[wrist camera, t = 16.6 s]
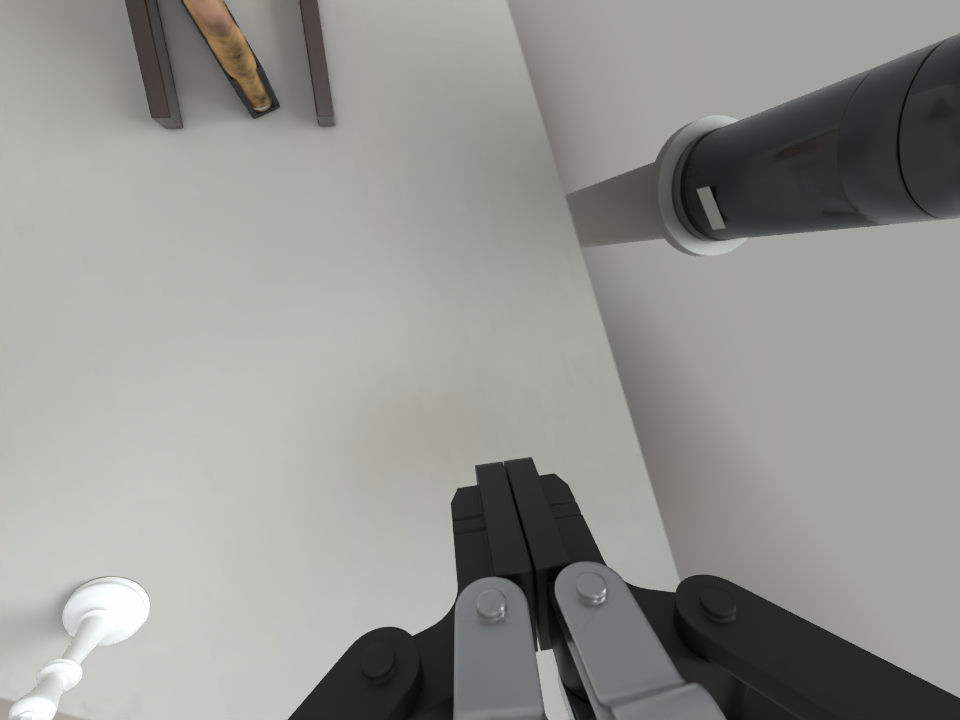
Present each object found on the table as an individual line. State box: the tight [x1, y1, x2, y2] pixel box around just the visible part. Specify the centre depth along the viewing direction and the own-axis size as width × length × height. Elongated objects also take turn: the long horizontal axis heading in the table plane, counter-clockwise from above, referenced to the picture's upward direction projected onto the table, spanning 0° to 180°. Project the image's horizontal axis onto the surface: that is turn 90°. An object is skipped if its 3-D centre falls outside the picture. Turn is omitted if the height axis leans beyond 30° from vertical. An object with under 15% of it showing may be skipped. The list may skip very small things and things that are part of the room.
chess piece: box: [9, 577, 150, 720], centre depth 27 cm, size 5×5×10 cm
